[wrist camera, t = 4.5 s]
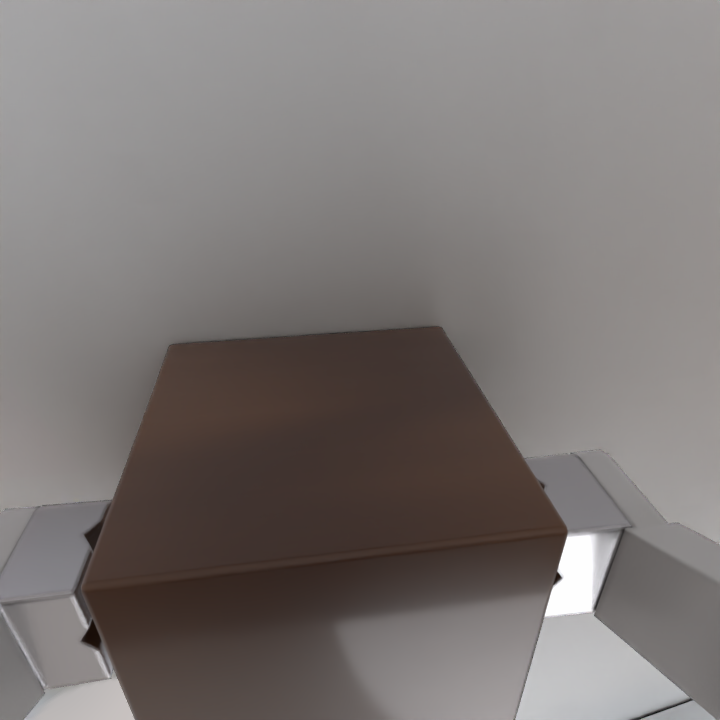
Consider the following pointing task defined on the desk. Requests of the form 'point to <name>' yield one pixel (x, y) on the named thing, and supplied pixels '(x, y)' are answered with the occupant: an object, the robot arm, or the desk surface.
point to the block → (323, 537)
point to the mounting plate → (682, 713)
